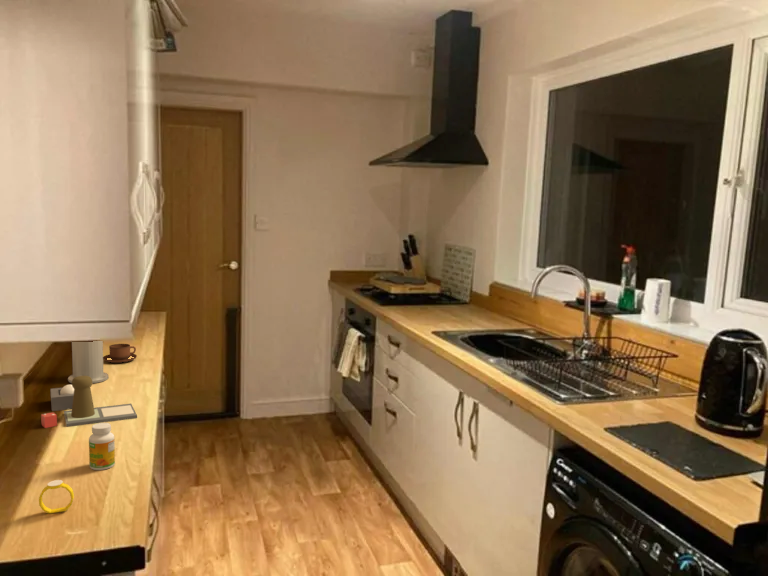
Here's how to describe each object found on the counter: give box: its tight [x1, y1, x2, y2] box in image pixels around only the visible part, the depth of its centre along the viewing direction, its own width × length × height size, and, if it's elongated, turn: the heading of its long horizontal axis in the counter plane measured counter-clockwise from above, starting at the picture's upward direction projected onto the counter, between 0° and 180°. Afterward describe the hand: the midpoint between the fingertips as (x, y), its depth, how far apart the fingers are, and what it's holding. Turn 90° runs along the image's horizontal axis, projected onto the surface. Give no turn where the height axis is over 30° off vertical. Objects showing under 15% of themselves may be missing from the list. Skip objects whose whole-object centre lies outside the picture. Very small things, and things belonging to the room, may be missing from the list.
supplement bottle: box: [88, 422, 116, 471], centre depth 147 cm, size 5×5×10 cm
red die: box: [40, 411, 58, 429], centre depth 173 cm, size 3×3×3 cm
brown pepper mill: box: [71, 376, 95, 418], centre depth 179 cm, size 6×6×11 cm
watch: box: [38, 479, 75, 515], centre depth 125 cm, size 6×3×6 cm, turn 109°
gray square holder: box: [50, 387, 74, 412], centre depth 192 cm, size 10×10×4 cm
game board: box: [63, 403, 138, 428], centre depth 182 cm, size 12×18×1 cm, turn 119°
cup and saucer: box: [103, 343, 138, 364], centre depth 245 cm, size 12×12×6 cm
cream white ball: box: [60, 383, 74, 395], centre depth 191 cm, size 5×5×5 cm
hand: (103, 307), depth 196 cm, fingers open, 9 cm apart
